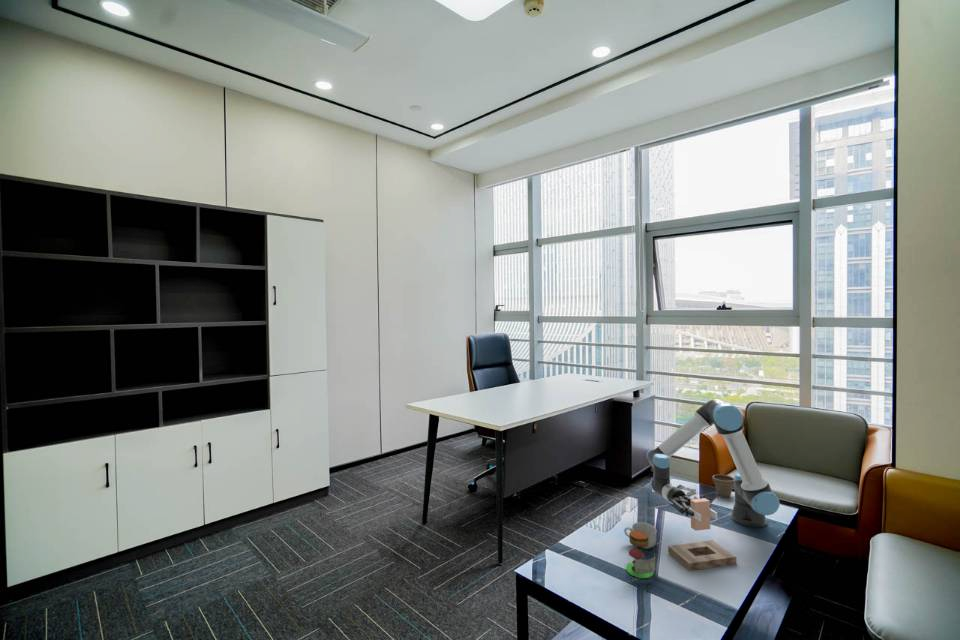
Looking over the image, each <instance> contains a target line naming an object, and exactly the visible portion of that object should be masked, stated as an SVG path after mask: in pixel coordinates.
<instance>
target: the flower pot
mask: <svg viewBox="0 0 960 640" xmlns="http://www.w3.org/2000/svg"><path fill="white" fill-rule="evenodd" d="M712 482H713V483H714V485H715V490H716V492H717V496H719V497H723V498H729V497H731V495H732V493H733V487H734V477H733V476H730V475H726V474H714V475H712Z"/></svg>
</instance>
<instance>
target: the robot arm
mask: <svg viewBox="0 0 960 640" xmlns="http://www.w3.org/2000/svg"><path fill="white" fill-rule="evenodd" d="M743 422H744V418H743V413H742V412H741V411H740V409H739V408H738V407H736V406H735V405H734V404H732V403H728V402H726V401H725V400H723V399H720V398H719V399H718V398H715V399H711V400H709V401H706V402H705V403H704V404H702V405H701V406H700V407H698V409H696V411H695V412H694V415H693V416H692V417H690V419H688V420H687V421H686V422H685V423H684V424H682V425H681V426H680V427H679V428H678V429H677V430H675V432H673V433H672V434H671V435H669V436H668V438H666V439H665V440H664V441H663V442H662V443H660V444H659V445H658V446H656V447H655V448H652V449H649V450H648V451H647V452H646V459H647V462H648V463H649V465H651V466H650V467H652V469H653V477H651V478H650V481H649V488H650V489H651V490H652V491H653V492H654V493H655V494H657V495H659V496H661V497H662V498H663V499H665V500H666V501H668V502H669V506H671V507H673V508H674V509H675V510H676V511H678V512H679V513H680V514H682V515H684V514H685V516H687V517H688V516H690V517H691V516H692V517H694V518H695V519H697V520H698V521H701V514H699V513H698V512H696V511H694V510H693V509H691V503H690V500H692V499H699V498H698V497H697V496H695V495H694V496H693V498H692V497H690V496H686V494H687V493H685V491H683V490H682V489H681V488H680V489H678V488H677V486H675V485H673V484H672V483H671V462H670V458H671V457H673V456H674V455H675V453H677V452H678V451H679V450H680V449H682V448H683V447H684V446H685V445H686V444H687V443H689V442H690V441H691V440H692V439H694V438H695V437H696V436H697V435H698V434H700V433H701V432H702V431H703V430H704V429H706V427H707V428H710V427H711V426H714V427H715V430H716V431H717V434H718V435H721V436H722V437H723V439H724V441H725V444H726V446H727V449H728V452H729V454H730V456H731V457H732V460H733V463H734V464H735V467H736V469H737V472H738V473H735V474H734V477H733V478H734V485H733V487H734V504H733V507H732V510H731V512H730V513H731V514H730V515H731V516H730V517H731V520H733V522H736V523H737V524H738V525H742V526H747V527H752V528H763V527H766V525H767V517H766V516H771V515H774V514H775V513H777V512H778V510H779V508H780V505H781V503H780V499H779V498H778V496H777V495H776V493H774V492H773V489H772V488H771V486H770V484H769V481H768V480H767V479H766V478H764V477H763V476H762V473H761V472H760V469H759V467H758V465H757V462H756V459H755V458H754V456H753V453H752V451H751V448H750V446H749V443H748V441H747V439H746V437H745V435H744V433H743V431H744V429H745V426H744V424H743ZM711 507H712V505H711V504H710V518H713V519H714V520H718V512H717V511H716V510H714V509H712V508H711Z"/></svg>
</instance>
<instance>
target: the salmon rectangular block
mask: <svg viewBox="0 0 960 640" xmlns="http://www.w3.org/2000/svg"><path fill="white" fill-rule="evenodd" d="M690 503H691V507H690V508H691V509H693V510H694V511H696V512H698V513H699V514H701V521H698V520H697V519H695V518H694V517H692V516H690V528H691V529H692V530H694V531H698V532H699V531H704V530H711V516H710V505H711V500H709V499H707V498H704V497H703V498H698V499H692V500H690Z"/></svg>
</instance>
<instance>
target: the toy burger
mask: <svg viewBox="0 0 960 640" xmlns="http://www.w3.org/2000/svg"><path fill="white" fill-rule="evenodd" d="M628 534H629V536H630V538H629V543H630V544H631V545H632V546H633V547H632V548H631V549H629V551H628V555H629V557H631V558H632V559H633V560H632V561H631V562H629V563H627V565H626V566H625V569H626V572H627V573H628V574H629V575H630V576H632V577H634V576H635V578H637V577H638V578H637V579H650V578H651V577H653V576H654V572H655V571H656V554H655V553H654V557H652V558H649V559H643V558H644V557H645V554H644V552H643V551H642V550H641V549H640V548H641V547H647V546H648V545H649V539H648V534H647V533H645V532H643V531H638V530H635V531H630V532H629V533H628Z"/></svg>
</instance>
